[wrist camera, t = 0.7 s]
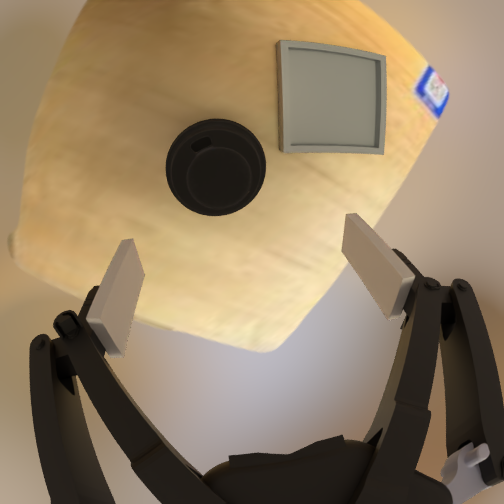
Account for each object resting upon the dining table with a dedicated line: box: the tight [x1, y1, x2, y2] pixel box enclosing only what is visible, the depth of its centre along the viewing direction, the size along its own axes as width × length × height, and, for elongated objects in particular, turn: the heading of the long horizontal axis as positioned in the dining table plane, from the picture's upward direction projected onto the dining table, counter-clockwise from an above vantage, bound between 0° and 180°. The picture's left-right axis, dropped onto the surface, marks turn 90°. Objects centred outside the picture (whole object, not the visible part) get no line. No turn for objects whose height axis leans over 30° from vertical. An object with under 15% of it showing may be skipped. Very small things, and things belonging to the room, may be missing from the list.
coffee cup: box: [166, 119, 266, 216], centre depth 29 cm, size 9×9×15 cm
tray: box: [276, 40, 387, 155], centre depth 32 cm, size 16×16×2 cm
